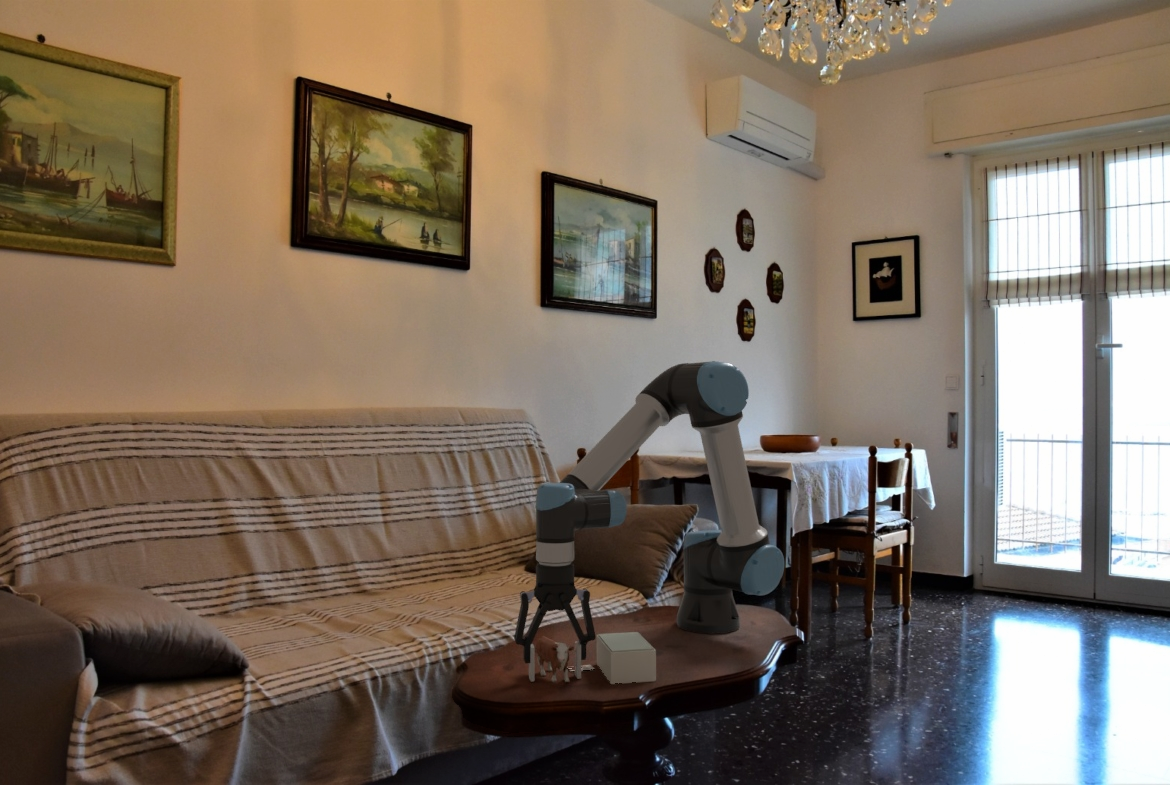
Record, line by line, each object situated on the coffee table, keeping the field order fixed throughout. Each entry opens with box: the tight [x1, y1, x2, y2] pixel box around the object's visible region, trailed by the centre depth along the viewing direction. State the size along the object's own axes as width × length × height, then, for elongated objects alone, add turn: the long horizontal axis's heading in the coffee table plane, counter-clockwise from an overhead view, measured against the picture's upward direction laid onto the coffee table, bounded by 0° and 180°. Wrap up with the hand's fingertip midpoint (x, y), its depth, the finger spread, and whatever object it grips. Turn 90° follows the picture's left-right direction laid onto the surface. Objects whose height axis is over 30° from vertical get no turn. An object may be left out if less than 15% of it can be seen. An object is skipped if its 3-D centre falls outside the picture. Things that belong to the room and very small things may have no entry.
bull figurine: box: [535, 635, 575, 683], centre depth 172 cm, size 4×13×8 cm, turn 23°
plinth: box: [596, 631, 657, 685], centre depth 176 cm, size 9×13×6 cm
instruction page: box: [567, 664, 596, 672], centre depth 178 cm, size 5×3×1 cm, turn 110°
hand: (554, 677), depth 172 cm, fingers open, 8 cm apart
